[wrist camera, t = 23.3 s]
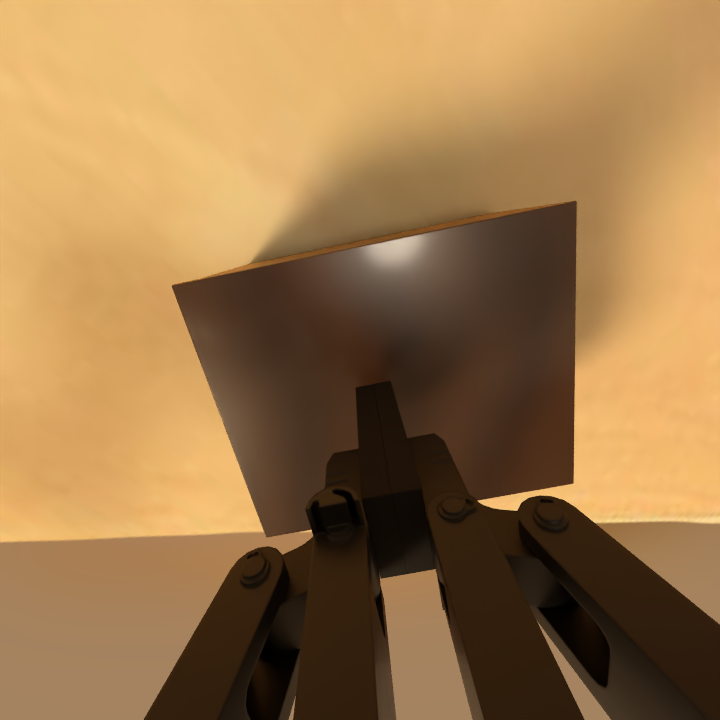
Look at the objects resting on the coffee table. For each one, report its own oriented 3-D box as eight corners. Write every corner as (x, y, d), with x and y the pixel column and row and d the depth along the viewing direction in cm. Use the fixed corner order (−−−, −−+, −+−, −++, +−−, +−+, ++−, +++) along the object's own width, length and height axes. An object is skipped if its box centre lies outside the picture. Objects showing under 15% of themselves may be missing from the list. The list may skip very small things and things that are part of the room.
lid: (269, 526, 20) (266, 537, 19) (179, 283, 15) (170, 285, 14) (564, 474, 19) (574, 483, 18) (565, 202, 14) (577, 200, 14)
